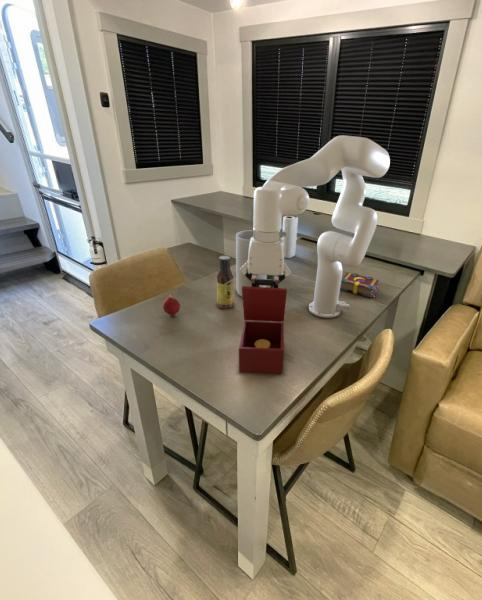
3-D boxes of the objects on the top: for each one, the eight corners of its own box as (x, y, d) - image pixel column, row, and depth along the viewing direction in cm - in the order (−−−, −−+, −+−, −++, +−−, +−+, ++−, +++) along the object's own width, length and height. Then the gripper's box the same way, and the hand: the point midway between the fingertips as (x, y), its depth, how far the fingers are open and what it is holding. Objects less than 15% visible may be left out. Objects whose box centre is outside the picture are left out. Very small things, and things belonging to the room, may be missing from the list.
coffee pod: (270, 351, 105) (270, 339, 102) (269, 360, 100) (270, 349, 98) (255, 350, 104) (255, 338, 102) (253, 360, 100) (254, 348, 98)
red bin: (282, 374, 97) (283, 350, 92) (239, 372, 96) (238, 348, 92) (282, 344, 109) (283, 322, 105) (244, 342, 109) (244, 320, 105)
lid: (286, 290, 93) (287, 275, 96) (241, 288, 92) (243, 273, 95) (283, 321, 105) (284, 307, 108) (244, 320, 104) (245, 306, 108)
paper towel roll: (280, 257, 176) (282, 217, 166) (282, 253, 181) (284, 215, 171) (293, 259, 175) (296, 219, 165) (295, 255, 180) (298, 216, 170)
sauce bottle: (230, 310, 126) (229, 262, 116) (215, 307, 127) (212, 259, 117) (236, 302, 132) (235, 255, 122) (221, 300, 132) (219, 253, 123)
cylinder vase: (241, 301, 133) (241, 241, 121) (233, 287, 143) (232, 231, 130) (270, 296, 137) (272, 239, 125) (260, 283, 147) (261, 229, 135)
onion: (184, 313, 122) (182, 294, 118) (174, 320, 117) (172, 301, 114) (170, 309, 124) (168, 290, 120) (160, 317, 119) (158, 297, 115)
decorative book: (345, 280, 156) (347, 270, 154) (379, 288, 151) (381, 279, 148) (338, 289, 147) (339, 279, 145) (373, 299, 142) (376, 288, 139)
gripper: (297, 232, 93) (292, 289, 102) (237, 228, 92) (237, 286, 101) (298, 241, 87) (293, 301, 95) (233, 237, 86) (234, 298, 95)
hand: (264, 293), depth 98 cm, fingers closed on lid, 5 cm apart
